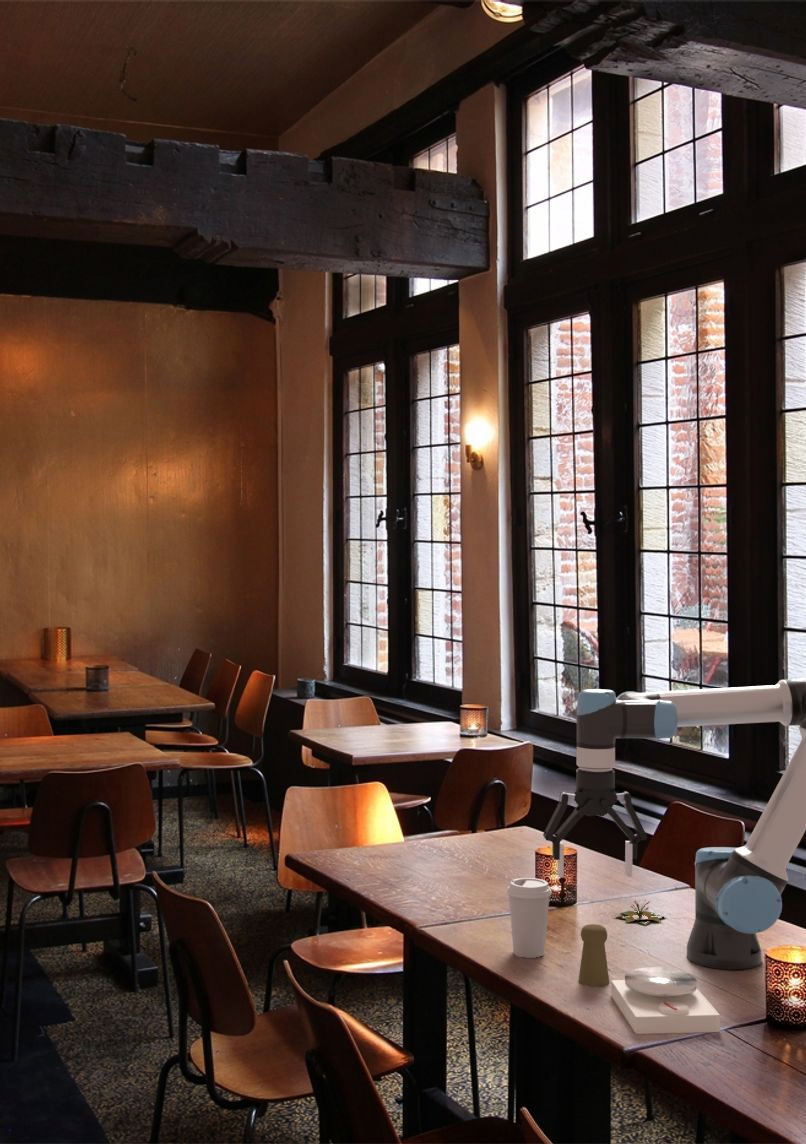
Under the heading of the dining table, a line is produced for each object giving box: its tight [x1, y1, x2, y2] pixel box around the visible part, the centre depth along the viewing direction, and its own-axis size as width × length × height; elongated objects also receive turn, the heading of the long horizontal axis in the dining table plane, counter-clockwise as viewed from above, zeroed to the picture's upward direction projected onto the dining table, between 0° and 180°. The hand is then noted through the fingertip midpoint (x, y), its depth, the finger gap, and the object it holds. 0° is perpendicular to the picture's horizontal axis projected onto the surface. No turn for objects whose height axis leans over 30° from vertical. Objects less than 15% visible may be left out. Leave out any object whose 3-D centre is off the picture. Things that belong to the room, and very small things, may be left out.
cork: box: [578, 923, 610, 987], centre depth 245 cm, size 6×6×11 cm
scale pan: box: [624, 966, 698, 997], centre depth 229 cm, size 13×13×1 cm
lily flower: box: [614, 899, 662, 926], centre depth 288 cm, size 12×12×5 cm
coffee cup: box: [505, 877, 553, 959], centre depth 262 cm, size 10×10×15 cm
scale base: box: [610, 979, 721, 1035], centre depth 227 cm, size 15×19×4 cm
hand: (594, 875), depth 245 cm, fingers open, 13 cm apart
